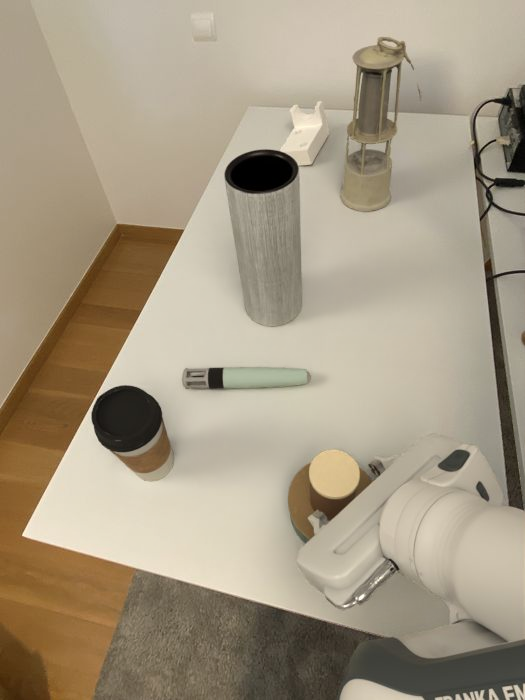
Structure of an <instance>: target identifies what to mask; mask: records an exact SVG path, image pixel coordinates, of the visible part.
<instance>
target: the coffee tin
mask: <svg viewBox="0 0 525 700" xmlns="http://www.w3.org/2000/svg"><path fill="white" fill-rule="evenodd" d="M311 462H312V461H310V462H309V463H306V464H305V465H304V466H303V467H301V468H300V469H299V470H298V472H297V473H296V474H295V475H294V476H293V479H292V480H291V483H290V485H289V489H288V492H287V505H288V506H287V507H288V511H289V517H290V521H291V524H292V527H293V529H294V532H295V533H296V535H297V536H298V538H299V539H300V540H301V541H302V542H303V543H304V545H305V544H306V543H307V542H308V541H309V540H310V539H311V538H312V537H313V536H315V534H314V527H313V526H312V524H311V523H310V521H309V520H308V517H309V516H310V515H311V514H313V513H314V512H315V511H314V510H313V508H312V506H311V502H310V478H309V468H310V464H311ZM358 467H359V470H360V479H359V483H358V486H357V489H356V494H355V498H356V497H357V496H358V495H359V494H360V493H361V492H362V491H364V490H365V489H366V488H367V487H368V486H369V485H370V484H371V483H372V482H373V480H372V479H371V476H370V475H369V474H368V473H367V472H366V471H365V470H364V469H362V467H360V466H359V465H358Z"/></svg>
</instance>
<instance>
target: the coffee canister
mask: <svg viewBox="0 0 525 700" xmlns="http://www.w3.org/2000/svg"><path fill="white" fill-rule="evenodd" d="M310 462H311V464H310V468H309V478H310V502H311V506H312V508H313V510H314V511H316V510H317V509H318V510H319V511H322V512H323V513H324V514H325V515H326V517H327V520H329V521H331V520H332V519H333V518H334V517H335V516H336V515H337V514H339V513H340V512H341V511H342V510H343V509H344V508H345V507H346V506H347V505H348V504H349V503H350V502H352V501H353V500H354V499H355V494H356V489H357V486H358V483H359V479H360V470H359V467H360V466H359V464H358V463H357V461H356V460H355V459H354V457H353V456H351V455H350V454H349V453H347V452H345V451H344V450H340V449H326V450H323V451H321V452H320V453H318V454H317V455H316V456H314V458H313V459H311V461H310ZM358 466H359V467H358Z"/></svg>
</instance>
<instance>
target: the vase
mask: <svg viewBox="0 0 525 700" xmlns="http://www.w3.org/2000/svg"><path fill="white" fill-rule="evenodd" d="M223 176H224V184H225V190H226V196H227V202H228V203H227V204H228V209H229V215H230V221H231V228H232V234H233V240H234V246H235V254H236V258H237V265H238V270H239V271H238V272H239V276H240V282H241V290H242V294H243V295H242V297H243V303H244V306H245V311H246V313H247V315H248V317H249V318H250V319H251V320H252V321H253V322H255V323H257V324H259V325H261V326H266V327H276V326H277V327H279V326H283V325H287V324H288V323H290V322H292V321H293V320H294V319H295V318H296V317H298V315H299V314H300V312H301V310H302V307H303V306H302V305H303V282H302V281H303V277H302V235H301V234H302V231H301V227H302V226H301V189H300V188H301V187H300V186H301V184H300V167H299V166H298V164H297V162H296V161H295V159H294V158H292V157H291V156H290V155H288V154H286V153H284V152H281V151H280V150H276V149H267V148H264V149H263V148H262V149H256V150H255V149H254V150H250V151H247V152H244V153H242V154H239V155H238V156H236V157H235V158H233V159H232V160H231V161H230V162H229V163H228V164H227V166H226V167H225V170H224V174H223Z"/></svg>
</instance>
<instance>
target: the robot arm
mask: <svg viewBox="0 0 525 700" xmlns="http://www.w3.org/2000/svg"><path fill="white" fill-rule="evenodd" d="M484 455H485V454H483V452H482V451H481V450H480V448H479V447H478V445H475V444H472V443H463V442H462V441H461V440H459V439H456V438H453V437H451V436H447V435H443V434H437V433H430V434H426V435H424V436H421V437H420V438H419V439H418V440H417V441H415V443H413V445H411V446H410V447H409V448H408V449H407V450H406V451H405V452H404V453H402V454H401V453H399V454H394V455H390V456H386V457H382V456H379V455H375V457H374V458H372V459H371V460H370V461H369V462H368V464H367V466H368V468H370V471H371V472H372V474H373V475H374V476H376V477H377V478H375V479H374V480H372V483H371V484H370V485H369V486H368V487H367V488H366V489H365V490H364V491H362V492H361V493H360V494H359V495H358V496H357V497H356V498H355V499H354V500H353V501H352V502H350V503H349V504H348V505H347V506H346V507H345V508H344V509H343V510H342V511H341V512H340V513H339V514H337V515H336V516H335V517H334V518H333V519H332V520H331V521H329V520H327V517H326V515H325V514H324V513H323V512H322V511H319V510H318V509H317V510H316V511H315V512H314V513H313V514H311V515H310V516H309V517H308V520H309V521H310V523H311V524H312V526H313V527H314V534H315V536H313V537H312V538H311V539H310V540H309V541H308V542H307V543H306V544H305V543H304V544H303V545H302V546H301V547H300V548H299V549H298V551H297V553H296V560H295V561H296V564H297V566H298V568H299V570H300V571H301V572H302V574H303V576H304V577H305V579H306V580H307V581H308V583H310V585H311V586H313V587H314V588H315V589H316V590H317V591H319V592H321V594H323V595H324V597H325V599H326V600H327V601H328V602H329V603H330V604H331V605H332V606H333V607H334V608H336V609H337V610H338V611H342V612H344V611H346V610H349V609H352V608H354V607H355V606H356V605H358V606H363V605H365V604H366V603H367V602H368V601H369V600H370V599H371V598H372V597H373V594H374V593H375V592H376V591H377V590H378V589H379V588H380V587H382V586H383V585H384V584H386V583H387V582H388V581H389V580H390V579H391V577H393V576H394V574H396V572H398V573H400V574H401V575H402V576H404V577H406V578H407V579H409V580H410V581H411V582H414V583H415V584H416V585H418V586H419V587H421V588H422V589H424V590H426V591H428V592H429V593H431V594H432V595H434V596H436V597H437V598H439V599H441V600H442V601H443V602H444V603H445V604H446V605H447V607H448V611H449V622H448V623H449V624H448V625H443V626H439V627H435V628H431V629H426V630H422V631H418V632H414V633H410V634H406V635H402V636H397V637H395V636H391V637H383V638H377V639H371V640H364V641H361V642H360V643H359V644H358V645H357V646H356V648H355V650H354V652H353V654H351V657H350V658H349V661H348V662H347V663H348V664H347V665H346V668H345V670H344V673H343V675H342V677H341V682H340V684H339V688H338V692H337V696H336V700H525V510H523V509H520V508H518V507H515V506H510V505H503V503H504V499H505V497H504V493H503V491H502V489H501V486H500V483H499V482H498V481H499V480H498V479H497V477H496V475H495V473H494V470H493V469H492V467H491V465H490V464H489V462H488V460H487V458H486V457H485V456H484Z"/></svg>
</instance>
